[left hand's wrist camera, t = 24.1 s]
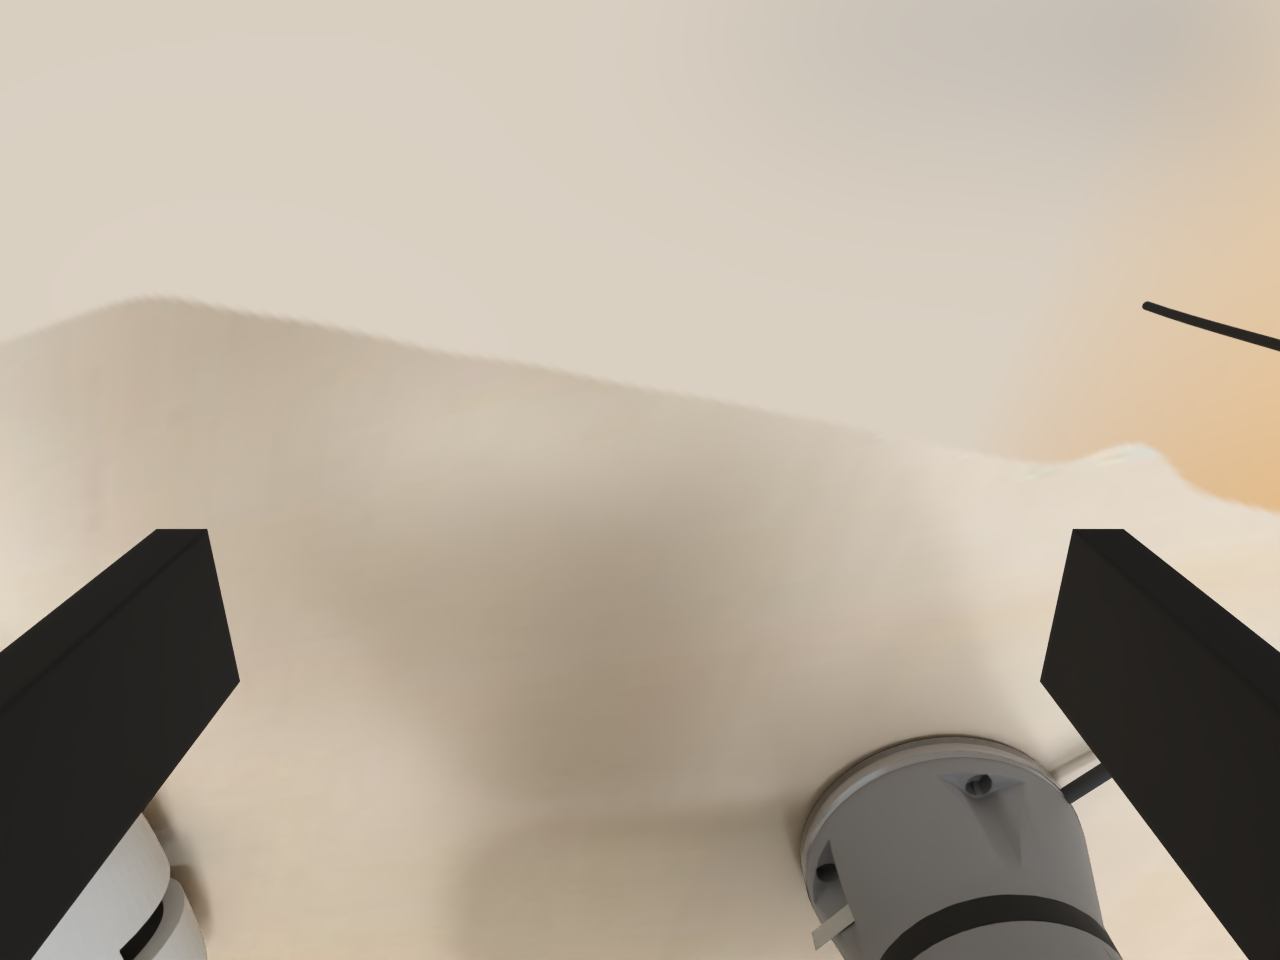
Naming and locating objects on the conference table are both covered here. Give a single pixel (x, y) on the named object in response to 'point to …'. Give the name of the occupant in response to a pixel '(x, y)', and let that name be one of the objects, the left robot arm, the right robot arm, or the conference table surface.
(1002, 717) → the conference table surface
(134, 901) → the projector
